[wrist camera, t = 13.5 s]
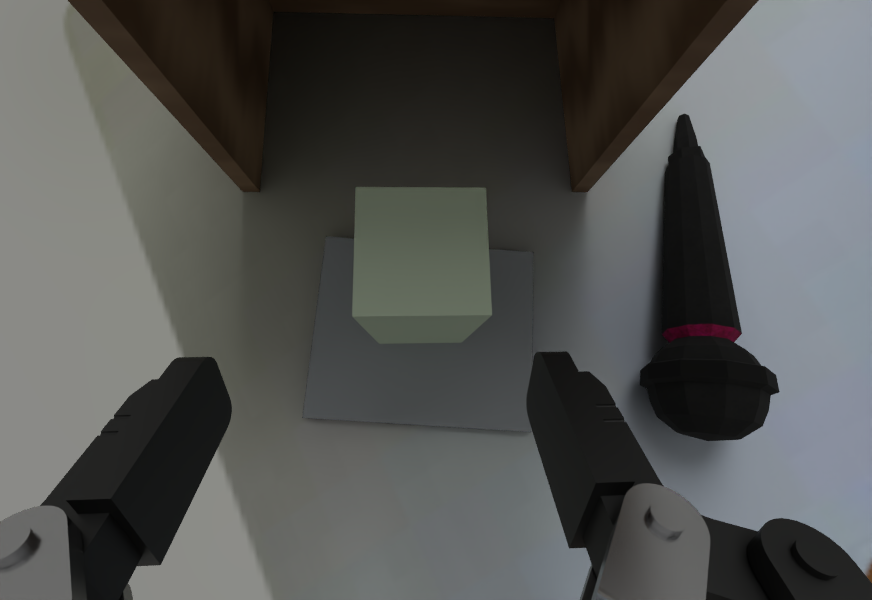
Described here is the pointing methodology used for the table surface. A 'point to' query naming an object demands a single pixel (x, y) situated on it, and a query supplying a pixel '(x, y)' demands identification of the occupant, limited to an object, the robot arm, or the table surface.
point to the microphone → (701, 314)
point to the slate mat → (423, 357)
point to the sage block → (421, 263)
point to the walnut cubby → (567, 3)
